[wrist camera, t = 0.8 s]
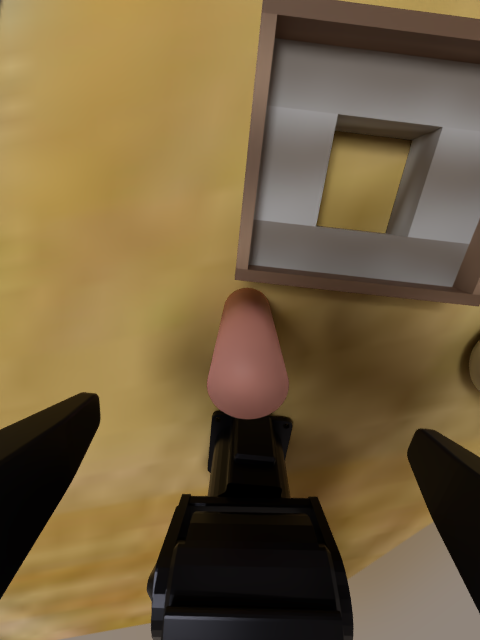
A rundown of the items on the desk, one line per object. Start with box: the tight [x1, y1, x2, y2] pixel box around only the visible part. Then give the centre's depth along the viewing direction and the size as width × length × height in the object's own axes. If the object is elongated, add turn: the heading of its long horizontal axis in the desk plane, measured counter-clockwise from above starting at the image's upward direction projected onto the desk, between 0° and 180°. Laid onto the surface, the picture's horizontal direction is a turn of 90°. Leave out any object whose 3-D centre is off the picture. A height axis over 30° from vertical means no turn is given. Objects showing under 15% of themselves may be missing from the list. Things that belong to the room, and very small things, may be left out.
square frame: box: [235, 0, 480, 306], centre depth 14 cm, size 11×13×4 cm
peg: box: [207, 288, 289, 419], centre depth 15 cm, size 3×3×9 cm
